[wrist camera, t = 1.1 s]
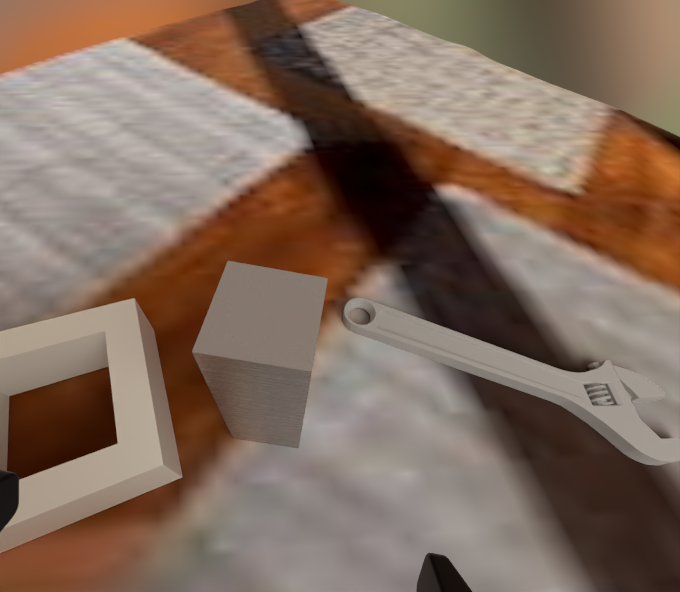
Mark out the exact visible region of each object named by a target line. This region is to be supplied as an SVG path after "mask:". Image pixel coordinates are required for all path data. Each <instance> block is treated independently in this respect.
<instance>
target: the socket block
mask: <svg viewBox="0 0 680 592" xmlns="http://www.w3.org/2000/svg"><path fill="white" fill-rule="evenodd" d="M105 367H109V372H110V380H111V389H112V398H113V406H114V415H115V423H116V432H117V441H118V444H115V445H113V446H110V447H107V448H104V449H102V450H99V451H96V452H93V453H91V454H88V455H85V456H83V457H80V458H77V459H74V460H72V461H69V462H66V463H63V464H61V465H58V466H55V467H53V468H50V469H47V470H44V471H42V472H39V473H36V474H33V475H31V476H28V477H25V478H22V479H20V480H19V505H18V509H17V511H16V513H15V514H14V516H13V517H12V519H11V520H10V521H9V523H8V524H7V525H6V526H5V527H4V529H3V530H2V531H1V532H0V553H2V552H5V551H7V550H9V549H12V548H14V547H17V546H19V545H21V544H24V543H26V542H29V541H31V540H33V539H36V538H38V537H41V536H43V535H45V534H48V533H50V532H53V531H55V530H57V529H60V528H62V527H65V526H67V525H69V524H72V523H74V522H77V521H79V520H81V519H84V518H86V517H89V516H91V515H93V514H96V513H98V512H101V511H103V510H105V509H108V508H110V507H113V506H115V505H117V504H120V503H122V502H125V501H127V500H129V499H132V498H134V497H137V496H139V495H141V494H144V493H146V492H149V491H151V490H153V489H156V488H158V487H161V486H163V485H165V484H168V483H170V482H172V481H175V480H177V479H180V478H182V477H183V476H182V471H181V466H180V461H179V456H178V451H177V445H176V440H175V435H174V430H173V425H172V420H171V415H170V410H169V404H168V399H167V394H166V389H165V384H164V379H163V374H162V369H161V363H160V358H159V353H158V348H157V343H156V338H155V333H154V329H153V328H152V326H151V324H150V323H149V321H148V319H147V318H146V316H145V314H144V313H143V311H142V309H141V308H140V306H139V304H138V303H137V301H136V300H135V298H132V299H128V300H124V301H120V302H116V303H112V304H108V305H104V306H100V307H96V308H92V309H88V310H84V311H80V312H76V313H72V314H68V315H64V316H60V317H56V318H52V319H48V320H44V321H40V322H36V323H32V324H28V325H24V326H20V327H16V328H12V329H8V330H4V331H0V470H4V471H7V454H8V423H9V396H12V395H15V394H19V393H22V392H25V391H29V390H32V389H35V388H39V387H42V386H45V385H49V384H52V383H55V382H59V381H62V380H65V379H69V378H72V377H75V376H79V375H82V374H85V373H89V372H92V371H95V370H99V369H102V368H105Z"/></svg>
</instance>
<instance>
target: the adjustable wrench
mask: <svg viewBox="0 0 680 592" xmlns="http://www.w3.org/2000/svg"><path fill="white" fill-rule="evenodd" d="M358 308H359V309H363V310H365V311H366V312H368V313H369V315H370V321H369V323H368V324H366V325H360V324H356V323H354V322H353V321H351V320H350V319H349V313H350V312H351V310H353V309H358ZM342 319H343V323H344V325H345V326H346V327H347V328H348V329H349V330H350V331H352V332H354V333H356V334H359V335H362V336H365V337H368V338H371V339H374V340H377V341H379V342H382V343H385V344H388V345H391V346H394V347H397V348H400V349H402V350H405V351H408V352H411V353H414V354H417V355H420V356H422V357H425V358H428V359H431V360H434V361H437V362H440V363H443V364H445V365H448V366H451V367H454V368H457V369H460V370H463V371H466V372H468V373H471V374H474V375H477V376H480V377H483V378H486V379H488V380H491V381H494V382H497V383H500V384H503V385H506V386H509V387H511V388H514V389H517V390H520V391H523V392H526V393H529V394H532V395H534V396H537V397H540V398H543V399H546V400H549V401H551V402H554V403H556V404H558V405H560V406H562V407H564V408H565V409H567V410H569V411H570V412H572V413H573V414H575V415H576V416H577V417H579V418H580V419H582V420H583V421H584V422H586V423H587V424H589V425H590V426H591V427H592V428H594V429H595V430H596V431H598V432H599V433H600V434H601V435H602V436H604V437H605V438H606V439H607V440H608V441H609V442H611V443H612V444H613V445H614V446H615V447H617V448H618V449H619V450H620V451H621V452H622V453H624V454H625V455H627V456H628V457H630V458H632V459H634V460H636V461H638V462H640V463H643V464H647V465H662V464H667V463H672V462H676V461H680V438H665V439H661V438H660V437H659V436H658V435H657V434H656V433H654V432H653V431H652V430H651V429H650V428H649V427H648V426H647V425H646V424H645V423H644V422H643V421H642V420H641V419H640V417H639V415H638V413H637V411H636V409H635V407H634V405H633V404H632V403H646V402H655V401H657V400H660V399H663V398H665V397H667V396H666V395H665V393H664V391H663V390H662V389H661V388H659V387H658V386H657V385H656V384H654V383H653V382H651V381H650V380H648V379H647V378H645V377H643V376H641V375H639V374H637V373H635V372H633V371H630V370H628V369H625V368H622V367H618V366H614V365H612V364H611V362H610V360H606V361H604V362H602V363H599V362H594V363H590V364H588V368H589V370H590V371H587V372H581V373H576V372H568V371H565V370H561V369H557V368H555V367H552V366H549V365H546V364H544V363H541V362H538V361H536V360H533V359H530V358H527V357H525V356H522V355H519V354H516V353H514V352H511V351H508V350H505V349H503V348H500V347H497V346H494V345H492V344H489V343H486V342H483V341H481V340H478V339H475V338H472V337H470V336H467V335H464V334H461V333H459V332H456V331H453V330H450V329H448V328H445V327H442V326H439V325H437V324H434V323H431V322H428V321H426V320H423V319H420V318H417V317H415V316H412V315H409V314H406V313H404V312H401V311H398V310H395V309H393V308H390V307H387V306H384V305H382V304H379V303H376V302H373V301H371V300H368V299H365V298H354V299H351V300H350V301H349V302H347V304H346V305H345V308H344V312H343V317H342Z"/></svg>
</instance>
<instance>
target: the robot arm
mask: <svg viewBox="0 0 680 592" xmlns="http://www.w3.org/2000/svg"><path fill="white" fill-rule="evenodd" d="M18 505H19V476H18V475H17V473H14V472H9V471H4V470H0V532H1V531H2V530H3V529H4V527H5V526H6V525H7V524H8V523H9V521H10V520H11V519H12V517H13V516H14V514H15V513H16V511H17V509H18ZM417 592H472V591H471V589H470V588H469V587H468V585H467V584H466V582H465V581H464V580H463V578H462V577H461V575H460V574H459V573H458V571H457V570H456V569H455V567H454V566H453V564H452V563H451V562H450V560H449V559H448V558H447V557H446V556H444V555H439V554H434V553H428V554H427V555H426V557H425V559H424V562H423V566H422V569H421V572H420V575H419V578H418V582H417Z"/></svg>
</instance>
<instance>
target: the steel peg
mask: <svg viewBox="0 0 680 592" xmlns="http://www.w3.org/2000/svg"><path fill="white" fill-rule="evenodd" d="M327 280H328V278H323V277H317V276H312V275H306V274H300V273H295V272H289V271H283V270H278V269H272V268H266V267H261V266H255V265H249V264H244V263H238V262H232V261H228V262H227V264H226V267H225V269H224V272H223V274H222V277H221V279H220V282H219V284H218V287H217V289H216V292H215V295H214V297H213V300H212V302H211V305H210V307H209V310H208V312H207V315H206V317H205V320H204V322H203V325H202V327H201V330H200V333H199V335H198V338H197V340H196V343H195V345H194V348H193V350H192V353H193V355H194V358H195V360H196V362H197V364H198V366H199V368H200V370H201V372H202V374H203V376H204V379H205V381H206V383H207V385H208V387H209V389H210V391H211V393H212V395H213V397H214V399H215V402H216V404H217V406H218V408H219V410H220V412H221V414H222V416H223V418H224V420H225V423H226V425H227V427H228V429H229V431H230V433H231V435H232V437H233V438H236V439H243V440H249V441H255V442H262V443H268V444H275V445H281V446H288V447H294V448H298V447H299V442H300V436H301V430H302V424H303V419H304V413H305V407H306V401H307V396H308V390H309V384H310V378H311V373H312V367H313V361H314V355H315V350H316V344H317V338H318V332H319V326H320V321H321V315H322V309H323V303H324V297H325V292H326V286H327Z"/></svg>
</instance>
